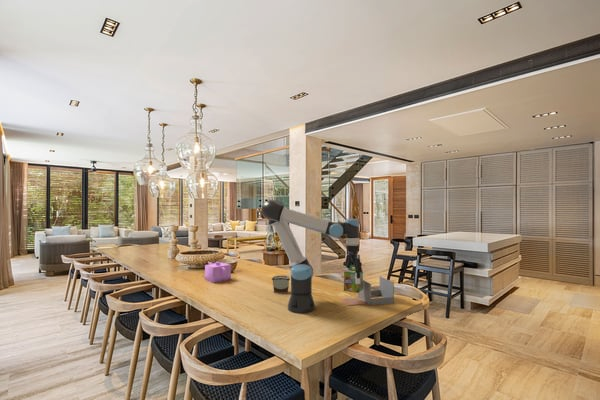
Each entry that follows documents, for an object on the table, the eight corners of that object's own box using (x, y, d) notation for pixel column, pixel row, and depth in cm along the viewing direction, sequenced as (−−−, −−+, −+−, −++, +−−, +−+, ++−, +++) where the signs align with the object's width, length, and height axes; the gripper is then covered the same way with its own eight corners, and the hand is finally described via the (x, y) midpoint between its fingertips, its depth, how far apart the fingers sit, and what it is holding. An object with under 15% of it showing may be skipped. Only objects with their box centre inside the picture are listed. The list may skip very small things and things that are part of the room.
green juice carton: (343, 291, 175) (343, 266, 176) (348, 287, 183) (348, 263, 184) (358, 293, 171) (358, 267, 171) (363, 289, 179) (362, 264, 179)
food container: (291, 290, 203) (291, 275, 203) (290, 292, 197) (290, 277, 197) (273, 289, 204) (273, 275, 204) (271, 292, 198) (271, 277, 198)
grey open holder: (370, 305, 171) (370, 284, 171) (358, 297, 186) (358, 277, 187) (394, 303, 174) (393, 282, 175) (380, 295, 190) (380, 276, 190)
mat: (348, 305, 170) (348, 305, 170) (341, 299, 181) (341, 299, 181) (366, 304, 173) (366, 303, 173) (358, 298, 184) (358, 297, 184)
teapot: (218, 275, 249) (218, 258, 250) (234, 280, 231) (234, 262, 231) (200, 278, 239) (200, 261, 239) (216, 284, 221) (216, 265, 221)
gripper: (367, 247, 167) (368, 285, 166) (350, 242, 191) (351, 275, 190) (355, 247, 165) (355, 286, 165) (339, 242, 189) (340, 276, 188)
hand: (353, 281), depth 177 cm, fingers closed on green juice carton, 12 cm apart
